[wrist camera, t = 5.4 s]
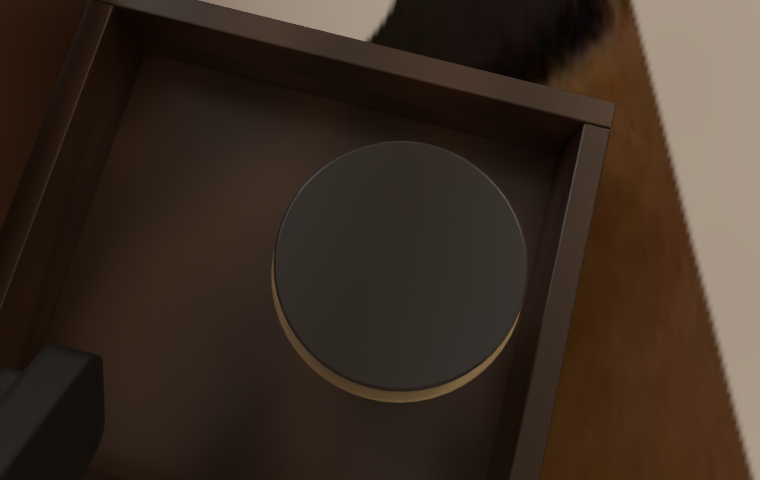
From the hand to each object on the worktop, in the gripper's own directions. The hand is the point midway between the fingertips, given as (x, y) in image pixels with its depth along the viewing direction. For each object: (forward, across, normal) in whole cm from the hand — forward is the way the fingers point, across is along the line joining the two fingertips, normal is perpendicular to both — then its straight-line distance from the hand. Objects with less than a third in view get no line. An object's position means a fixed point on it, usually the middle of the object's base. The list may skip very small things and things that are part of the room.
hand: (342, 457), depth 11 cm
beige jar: (+10, 0, +5) cm, 11 cm away
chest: (+10, +3, +6) cm, 12 cm away
